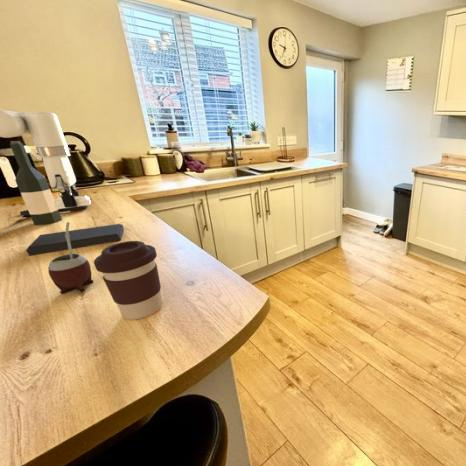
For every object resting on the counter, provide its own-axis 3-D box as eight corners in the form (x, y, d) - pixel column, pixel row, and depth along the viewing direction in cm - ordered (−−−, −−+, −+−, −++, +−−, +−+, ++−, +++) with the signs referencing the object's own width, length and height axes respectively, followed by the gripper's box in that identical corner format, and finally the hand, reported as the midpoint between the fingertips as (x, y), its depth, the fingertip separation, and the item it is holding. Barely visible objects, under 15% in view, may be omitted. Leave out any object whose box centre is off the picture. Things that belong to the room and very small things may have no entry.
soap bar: (57, 205, 101) (54, 198, 100) (90, 201, 106) (88, 194, 105) (55, 209, 98) (52, 201, 97) (90, 204, 103) (87, 197, 102)
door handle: (25, 205, 124) (18, 212, 112) (86, 197, 136) (85, 203, 124) (28, 212, 125) (21, 220, 113) (88, 204, 137) (88, 210, 125)
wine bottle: (41, 226, 108) (5, 142, 96) (27, 223, 110) (-9, 141, 99) (67, 219, 115) (37, 140, 104) (54, 217, 117) (23, 140, 106)
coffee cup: (144, 328, 57) (122, 260, 51) (102, 321, 59) (76, 256, 53) (180, 299, 66) (164, 239, 60) (142, 294, 68) (124, 235, 62)
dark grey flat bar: (28, 255, 85) (25, 248, 84) (41, 241, 95) (38, 234, 94) (120, 240, 96) (118, 233, 95) (124, 229, 106) (122, 223, 105)
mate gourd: (65, 299, 66) (39, 238, 60) (51, 289, 69) (25, 231, 63) (103, 283, 72) (83, 227, 66) (89, 275, 75) (68, 221, 69)
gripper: (46, 150, 100) (65, 200, 107) (29, 155, 86) (52, 212, 93) (74, 149, 104) (91, 197, 111) (62, 154, 90) (82, 209, 97)
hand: (73, 204), depth 102 cm, fingers closed on soap bar, 5 cm apart
